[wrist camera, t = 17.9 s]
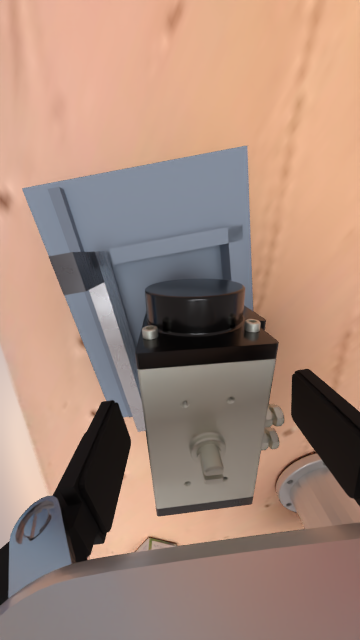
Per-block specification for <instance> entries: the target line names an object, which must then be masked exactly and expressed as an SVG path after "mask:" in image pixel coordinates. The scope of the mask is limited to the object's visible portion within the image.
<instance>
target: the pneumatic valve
mask: <svg viewBox="0 0 360 640" xmlns="http://www.w3.org/2000/svg"><path fill="white" fill-rule="evenodd" d="M244 299H245V287H244V285H242V284H240V283H238V282H234V281H229V280H221V279H179V280H170V281H163V282H158V283H155V284H152V285H149V286H148V287H146V288H145V301H146V314H145V317H144V321H143V325H142V329H141V332H140V336H139V340H138V343H137V347H136V351H135V355H136V363H137V370H138V377H139V385H140V392H141V400H142V407H143V415H144V422H145V429H146V437H147V444H148V452H149V459H150V466H151V474H152V481H153V489H154V496H155V504H156V511H157V516H166V515H174V514H181V513H189V512H196V511H204V510H212V509H219V508H227V507H234V506H242V505H249V504H252V501H253V495H254V489H255V483H256V477H257V471H258V465H259V459H260V453H261V450H266V449H267V448H268V446H269V447H270V448H271V449H276V448H278V446H279V438H278V435H277V433H276V431H275V430H274V429H273V428H271V427H270V426H271V425H272V424H273V425H275V426H281V425H282V424H283V423H284V415H283V412H282V410H281V408H280V407H279V406H277V405H273V404H272V405H268V404H269V398H270V392H271V386H272V380H273V374H274V368H275V362H276V356H277V350H278V344H279V342H278V341H277V340H276V339H274V338H273V337H272V336H271V335H269V334H268V333H267V332H266V331H265V324H266V320H265V319H264V318H262V317H261V316H259V315H258V314H256V313H255V312H253V311H252V310H251V309H249V308H248V307H246V306H245V305H244Z"/></svg>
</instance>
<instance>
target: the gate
mask: <svg viewBox="0 0 360 640" xmlns="http://www.w3.org/2000/svg"><path fill="white" fill-rule="evenodd" d="M49 259H50V261H51V264H52V266H53V269H54V271H55V274H56V276H57V279H58V281H59V284H60V286H61V289H62V291H63V294H64V295H69V294H74V293H80V292H85V291H88V290H89V292H90V295H91V298H92V301H93V304H94V306H95V309H96V312H97V315H98V318H99V321H100V324H101V327H102V329H103V332H104V335H105V338H106V341H107V344H108V347H109V350H110V353H111V355H112V358H113V361H114V364H115V367H116V370H117V373H118V376H119V378H120V381H121V384H122V387H123V390H124V393H125V396H126V399H127V402H128V404H129V407H130V410H131V413H132V416H133V419H134V422H135V425H136V427H137V430H138V432H140V431H146V429H145V422H144V415H143V407H142V400H141V392H140V385H139V377H138V370H137V363H136V355H135V351H136V349H135V346H134V342H133V339H132V336H131V332H130V329H129V325H128V322H127V318H126V315H125V311H124V308H123V305H122V301H121V298H120V294H119V291H118V287H117V284H116V281H115V277H114V274H113V270H112V267H111V263H110V260H109V256H108V253H107V251H97V252H70V253H64V254H59V255H54V256H49Z"/></svg>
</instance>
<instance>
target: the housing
mask: <svg viewBox="0 0 360 640" xmlns="http://www.w3.org/2000/svg"><path fill="white" fill-rule="evenodd" d="M22 190H23V192H24V195H25V197H26V200H27V202H28V205H29V207H30V210H31V212H32V215H33V217H34V220H35V222H36V225H37V227H38V230H39V233H40V235H41V238H42V240H43V243H44V245H45V248H46V250H47V253H48V255H49V256H54V255H59V254H64V253H70V252H97V251H107V253H108V256H109V260H110V263H111V267H112V270H113V274H114V277H115V281H116V284H117V287H118V291H119V294H120V298H121V301H122V305H123V308H124V311H125V315H126V318H127V322H128V325H129V329H130V332H131V336H132V339H133V342H134V346H135V349H136V347H137V343H138V340H139V336H140V332H141V329H142V325H143V321H144V317H145V314H146V301H145V288H146V287H148V286H149V285H152V284H155V283H158V282H163V281H170V280H179V279H221V280H229V281H234V282H238V283H240V284H242V285H244V287H245V299H244V305H245V306H246V307H248V308H249V309H251V310H252V311H253V296H252V268H251V240H250V212H249V184H248V156H247V146H242V147H237V148H232V149H226V150H221V151H216V152H211V153H205V154H200V155H195V156H190V157H184V158H179V159H174V160H169V161H163V162H158V163H153V164H148V165H143V166H137V167H132V168H127V169H122V170H116V171H111V172H106V173H101V174H95V175H90V176H85V177H80V178H74V179H69V180H64V181H59V182H53V183H48V184H43V185H38V186H32V187H27V188H22ZM65 298H66V300H67V303H68V305H69V308H70V311H71V313H72V316H73V318H74V321H75V323H76V326H77V328H78V331H79V333H80V336H81V338H82V341H83V343H84V346H85V348H86V351H87V353H88V356H89V358H90V361H91V363H92V366H93V368H94V371H95V373H96V376H97V378H98V381H99V384H100V386H101V389H102V391H103V394H104V396H105V399H106V401H110V400H114V401H115V403H116V402H117V403H118V404H119V407H120V410H121V413H122V416H123V417H128V416H129V417H133V416H132V413H131V410H130V407H129V404H128V402H127V399H126V396H125V393H124V390H123V387H122V384H121V381H120V378H119V376H118V373H117V370H116V367H115V364H114V361H113V358H112V355H111V353H110V350H109V347H108V344H107V341H106V338H105V335H104V332H103V329H102V327H101V324H100V321H99V318H98V315H97V312H96V309H95V306H94V304H93V301H92V298H91V295H90V292H89V290H88V291H85V292H80V293H74V294H69V295H65Z"/></svg>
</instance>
